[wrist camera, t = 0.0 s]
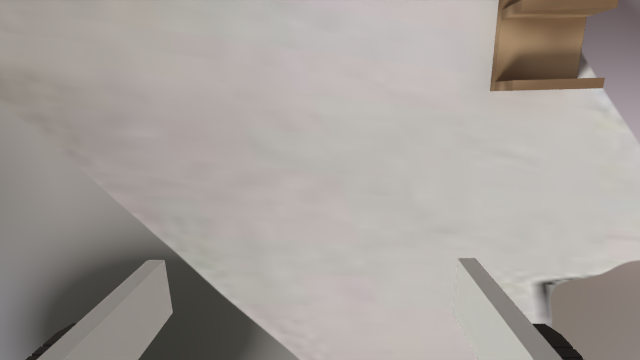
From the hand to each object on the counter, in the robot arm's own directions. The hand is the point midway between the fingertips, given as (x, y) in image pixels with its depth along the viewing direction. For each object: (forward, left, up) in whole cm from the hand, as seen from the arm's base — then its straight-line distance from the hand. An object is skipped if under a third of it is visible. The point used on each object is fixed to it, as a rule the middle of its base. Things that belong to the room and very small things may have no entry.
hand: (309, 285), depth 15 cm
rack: (-16, +24, -28) cm, 40 cm away
